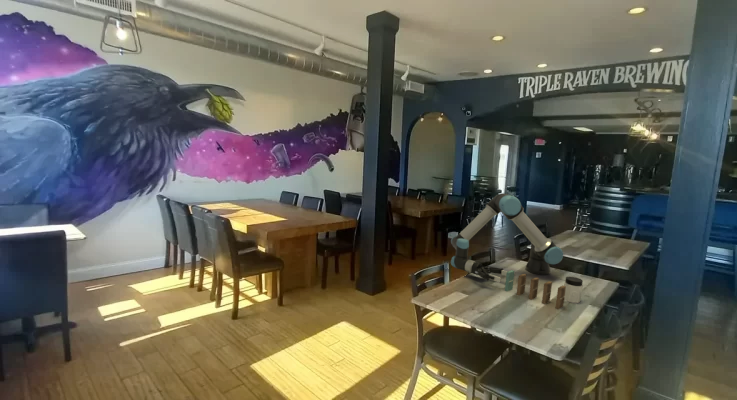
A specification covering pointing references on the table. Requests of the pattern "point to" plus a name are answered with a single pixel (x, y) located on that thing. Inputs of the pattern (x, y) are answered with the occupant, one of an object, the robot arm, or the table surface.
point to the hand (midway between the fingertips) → (506, 277)
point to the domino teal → (509, 280)
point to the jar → (573, 289)
